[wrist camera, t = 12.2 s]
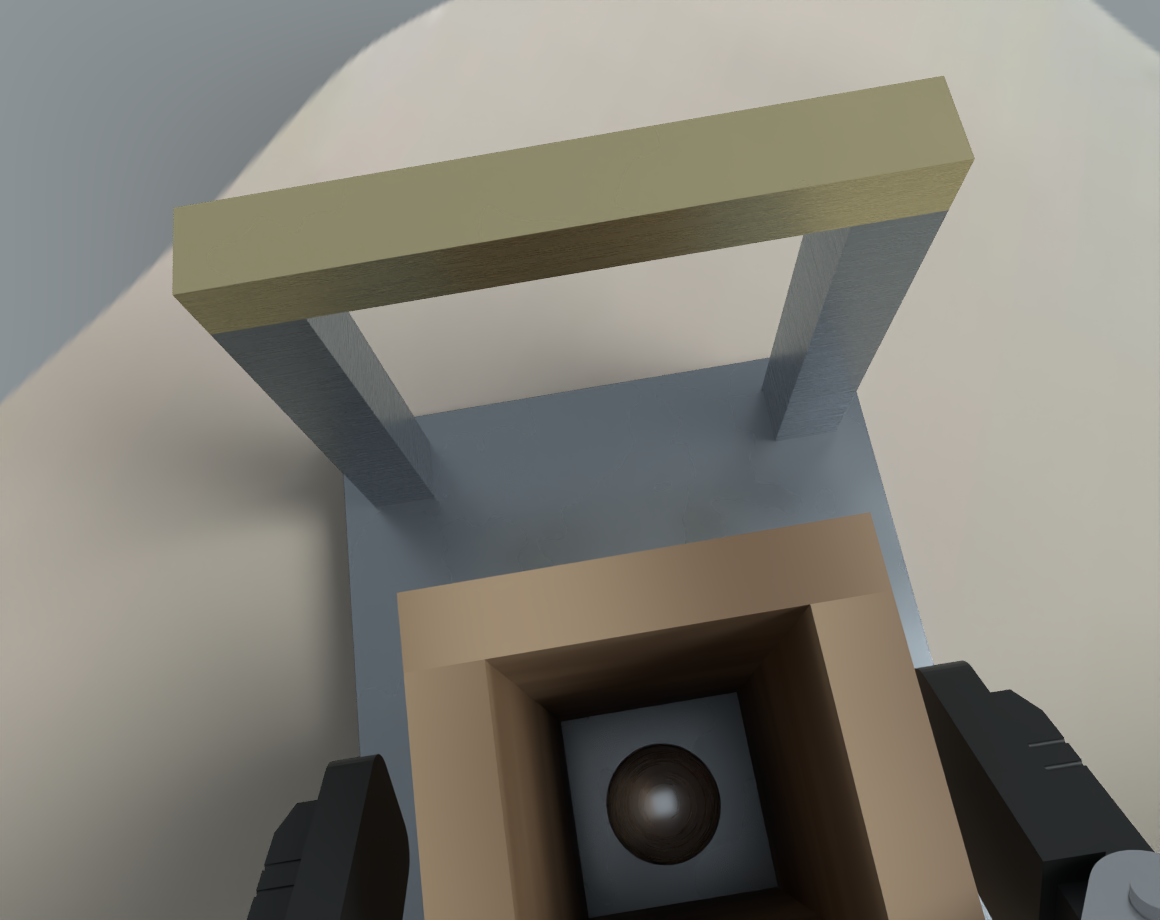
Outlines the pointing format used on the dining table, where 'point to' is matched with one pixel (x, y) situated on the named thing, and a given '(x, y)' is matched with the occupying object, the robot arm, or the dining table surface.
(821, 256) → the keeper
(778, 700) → the wooden scoop with handle
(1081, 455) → the dining table surface
